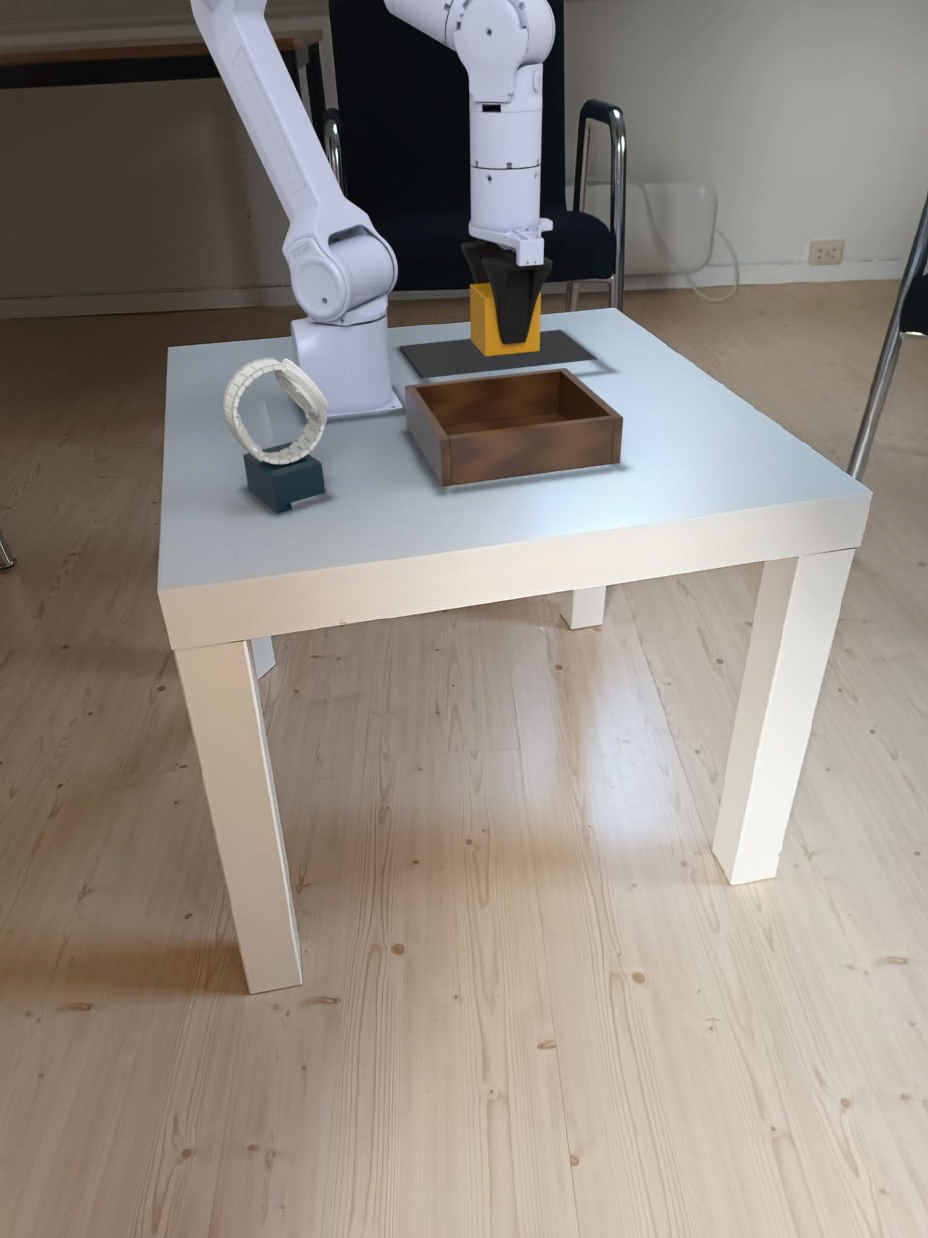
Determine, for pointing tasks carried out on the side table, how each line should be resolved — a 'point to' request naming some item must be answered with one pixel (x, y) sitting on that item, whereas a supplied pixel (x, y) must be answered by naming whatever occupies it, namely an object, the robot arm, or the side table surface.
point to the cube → (487, 327)
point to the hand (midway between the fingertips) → (504, 333)
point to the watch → (289, 465)
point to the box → (511, 426)
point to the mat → (470, 359)
